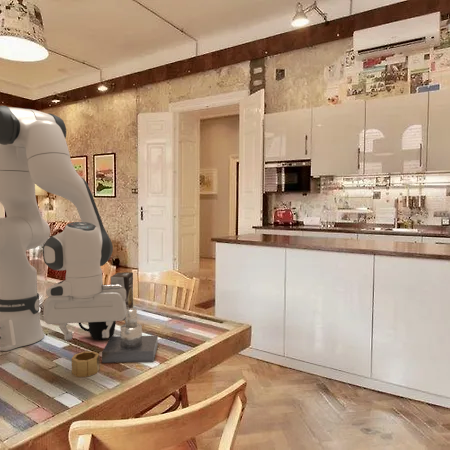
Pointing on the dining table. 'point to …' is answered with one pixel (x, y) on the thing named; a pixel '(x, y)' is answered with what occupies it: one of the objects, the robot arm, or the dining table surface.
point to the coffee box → (125, 286)
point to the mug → (98, 329)
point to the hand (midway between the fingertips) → (87, 338)
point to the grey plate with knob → (130, 343)
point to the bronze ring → (85, 364)
